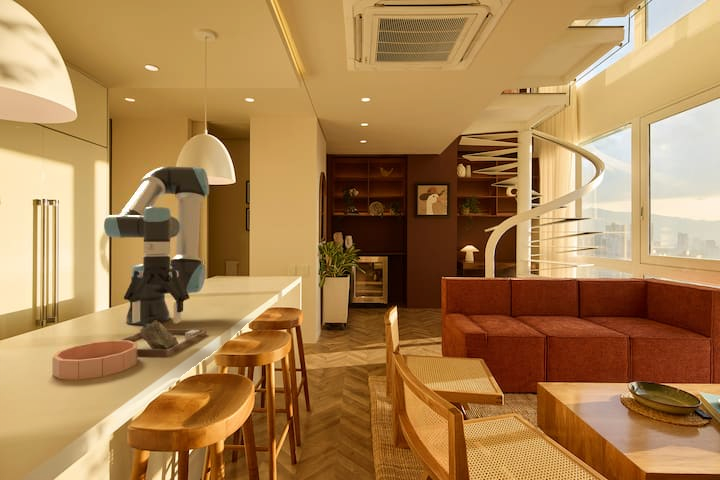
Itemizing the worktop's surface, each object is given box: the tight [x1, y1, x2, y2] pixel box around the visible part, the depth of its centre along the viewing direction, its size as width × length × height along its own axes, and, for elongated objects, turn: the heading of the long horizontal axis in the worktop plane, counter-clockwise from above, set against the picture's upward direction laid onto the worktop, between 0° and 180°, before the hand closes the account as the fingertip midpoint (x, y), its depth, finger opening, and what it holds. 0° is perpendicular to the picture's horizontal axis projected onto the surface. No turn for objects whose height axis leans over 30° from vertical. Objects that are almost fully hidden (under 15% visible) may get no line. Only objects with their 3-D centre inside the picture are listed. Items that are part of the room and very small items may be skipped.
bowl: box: [51, 339, 139, 381], centre depth 98 cm, size 18×18×4 cm
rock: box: [140, 321, 179, 350], centre depth 113 cm, size 11×6×10 cm
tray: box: [120, 328, 208, 358], centre depth 119 cm, size 23×21×2 cm
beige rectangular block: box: [184, 329, 201, 340], centre depth 126 cm, size 4×3×2 cm
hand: (156, 322), depth 118 cm, fingers open, 13 cm apart
